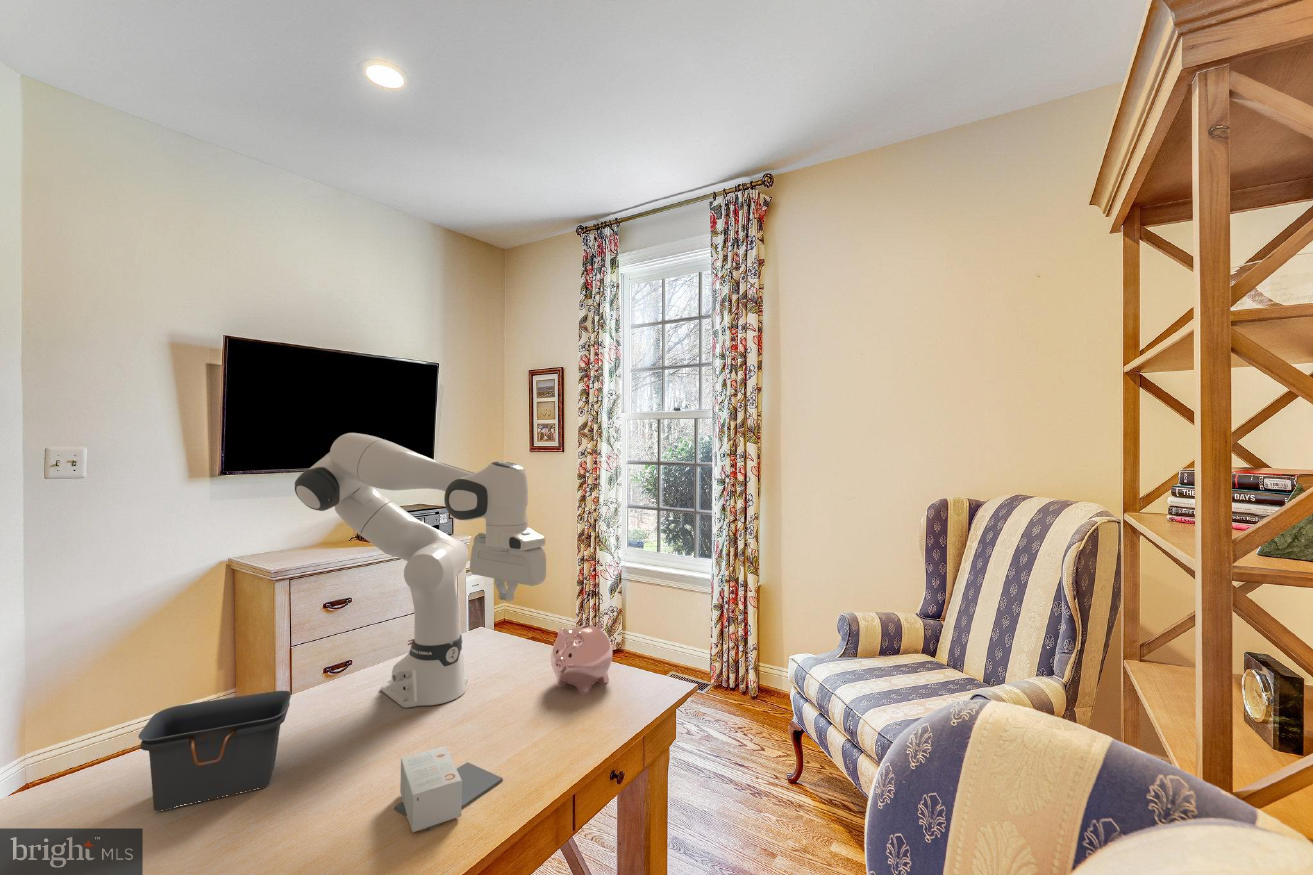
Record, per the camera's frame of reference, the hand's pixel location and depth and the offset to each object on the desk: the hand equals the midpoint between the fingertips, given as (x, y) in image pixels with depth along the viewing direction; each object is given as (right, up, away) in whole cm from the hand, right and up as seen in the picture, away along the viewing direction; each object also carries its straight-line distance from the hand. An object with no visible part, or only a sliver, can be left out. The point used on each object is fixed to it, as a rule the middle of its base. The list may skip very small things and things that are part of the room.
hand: (506, 599), depth 119 cm
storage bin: (-48, -30, -18) cm, 60 cm away
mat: (-5, -31, -18) cm, 36 cm away
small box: (-11, -27, -16) cm, 33 cm away
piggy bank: (+12, -32, +28) cm, 44 cm away
